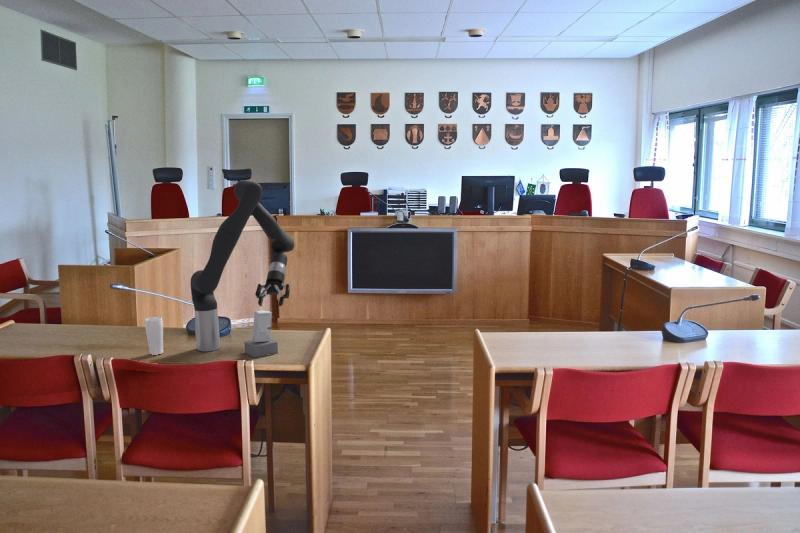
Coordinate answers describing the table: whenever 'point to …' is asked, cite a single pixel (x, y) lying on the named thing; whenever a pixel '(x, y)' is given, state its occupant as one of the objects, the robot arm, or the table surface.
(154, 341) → the drinking glass
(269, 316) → the skincare box
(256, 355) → the charcoal block
